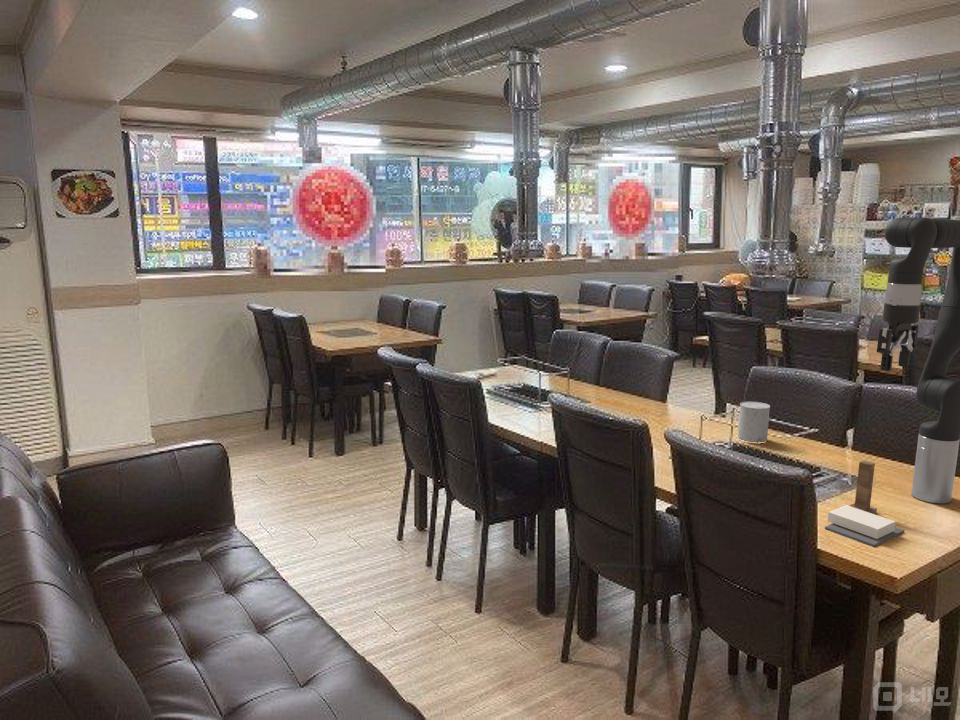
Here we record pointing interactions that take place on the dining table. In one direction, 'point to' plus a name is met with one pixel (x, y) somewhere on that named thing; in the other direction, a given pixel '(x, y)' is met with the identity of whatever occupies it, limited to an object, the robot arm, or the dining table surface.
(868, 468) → the brown tapered stand
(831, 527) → the mat
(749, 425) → the grey stone cylinder
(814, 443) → the dining table surface
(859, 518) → the white rectangular block
